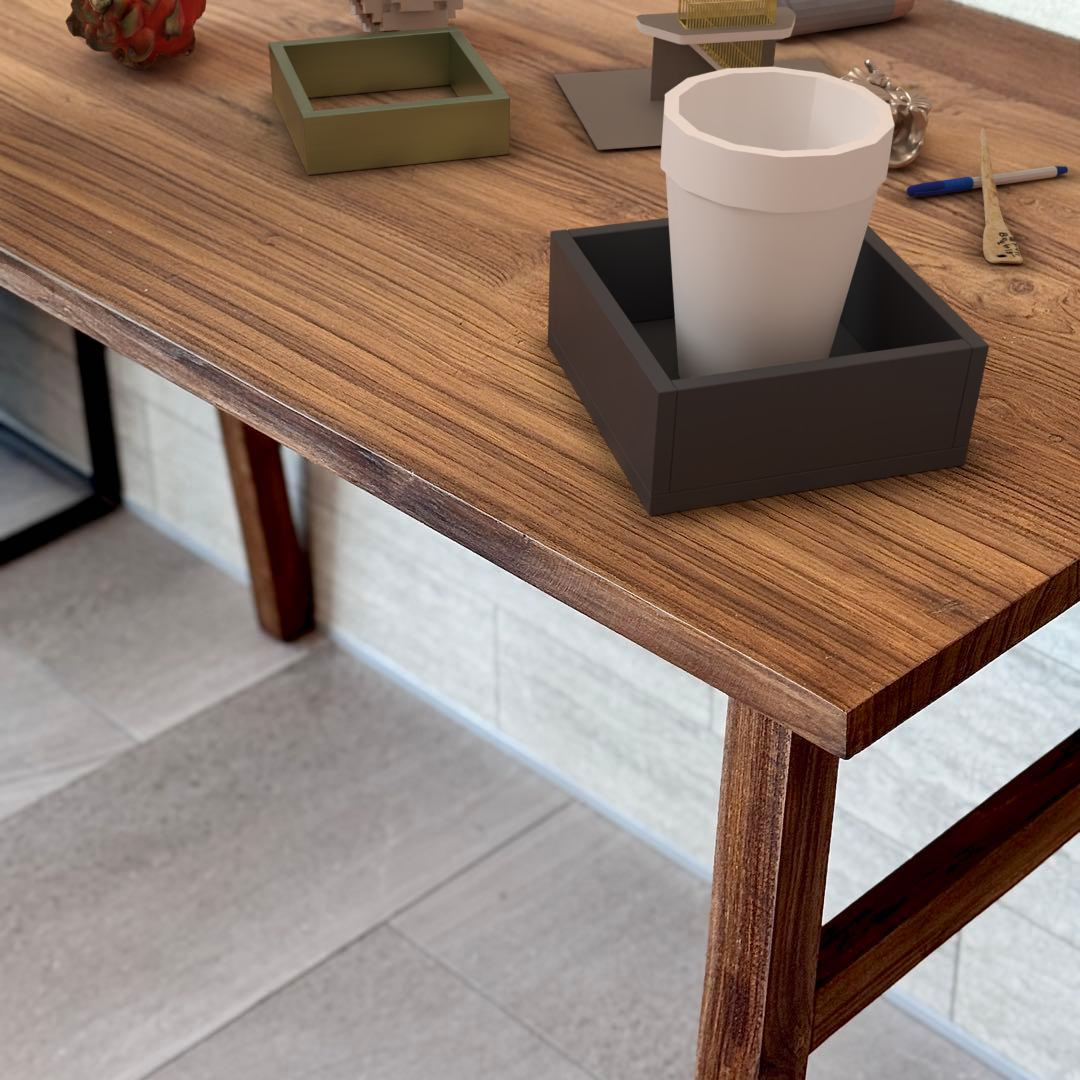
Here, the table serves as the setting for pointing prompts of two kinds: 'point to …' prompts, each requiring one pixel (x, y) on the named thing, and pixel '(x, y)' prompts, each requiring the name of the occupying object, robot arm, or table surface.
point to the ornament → (897, 112)
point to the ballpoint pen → (976, 182)
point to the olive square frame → (389, 128)
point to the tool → (994, 215)
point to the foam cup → (767, 211)
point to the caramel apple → (404, 14)
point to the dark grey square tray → (759, 378)
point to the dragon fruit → (136, 28)
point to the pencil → (842, 13)
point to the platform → (678, 66)
